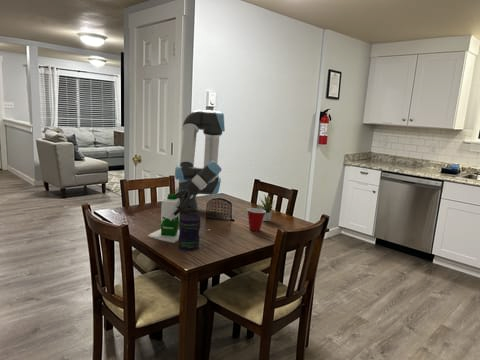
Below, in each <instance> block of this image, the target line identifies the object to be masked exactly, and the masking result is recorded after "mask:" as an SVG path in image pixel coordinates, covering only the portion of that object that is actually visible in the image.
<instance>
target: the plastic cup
mask: <svg viewBox="0 0 480 360" xmlns="http://www.w3.org/2000/svg"><path fill="white" fill-rule="evenodd" d="M263 209H264V208H256V207H249V208H246V210H247V217H248V225H249V227H248V228H249V230H250V231H251V230H252V231H251V232H255V231H257V232H260V231H261V227H262V223H263V217H264V214H265V213H266V211H265V210H263ZM259 230H260V231H259Z"/></svg>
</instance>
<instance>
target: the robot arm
mask: <svg viewBox="0 0 480 360" xmlns="http://www.w3.org/2000/svg"><path fill="white" fill-rule="evenodd" d="M181 129H182V131H183V135H182V146H181V155H180V161H179V165H176V166H175V171H174V177H175V180H178V192H176V193H175V194H176V198H180V204H179V206H177V208H178V209H177V208H176V209H174V210H173V211H172V212H171V213H170V214H169V215H168V216H167V218H168V219H169V220H170V221H171V220H172V219H173V218H174V217H176V216H177V215H178V214H179V215H180V214H181V213H182V212H183V213H188V212H189V213H193V212H196V211H198V210H199V204H198V199H197V196H198V195H206V196H207V195H208V196H216V195H218V194H219V191H220V189H221V188H220V186H221V182H222V181H221V180H222V179H221V178H222V177H220V175H219V174H220V173H221V172H222V168H221V166H220V165H219V164H218V163H219V162H218V161H219V160H218V159H219V149H220V148H219V147H220V146H219V145H220V137H221V136H223V132H225V130H226V129H225V115H224V113H223V112H221V111H217V110H216V111H215V110H201V109H196V110H193V111H192V112H190V113H189V114H188V115H187V116H186V117H185V119H184V121H183V123H182V128H181ZM199 130H200V131H202V132H203V135H204V136H205V138H204V151H203V152H204V155H203V156H204V157H203V167H197V166H195V167H194V165H195V156H196V155H195V153H196V145H197V134H198V133H199Z"/></svg>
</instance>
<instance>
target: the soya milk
mask: <svg viewBox="0 0 480 360" xmlns="http://www.w3.org/2000/svg"><path fill="white" fill-rule="evenodd" d="M179 204H180V198H176V193H167V196H165V197H164V198H163V199H162V200H161V208H160V210H161V211H160V212H161V213H160V229H161V235H166V236H175V235H176V233H177V232H178V230H179V222H180V213H179V214H178V215H177V216H176V217H174V218H173V219H172V220H171V221H170V220H169V219H168V218H167V216H168V215H169V214H170V213H171V212H172V211H173V210H174V209H176V208H177V206H179ZM177 209H178V208H177Z"/></svg>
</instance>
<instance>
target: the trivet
mask: <svg viewBox="0 0 480 360" xmlns="http://www.w3.org/2000/svg"><path fill="white" fill-rule="evenodd" d="M179 232H180V229H178V232H177V233H176V235H175V236H166V235H161V228H160V229H157V230H155V231H153V232H151V233H149V234H148V235H147V237H148V238H151V239H155V240H160V241H163V242H168V243H171V244H172V243H173V244H175V243H176V242H178V239H179V238H178V237H179Z"/></svg>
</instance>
